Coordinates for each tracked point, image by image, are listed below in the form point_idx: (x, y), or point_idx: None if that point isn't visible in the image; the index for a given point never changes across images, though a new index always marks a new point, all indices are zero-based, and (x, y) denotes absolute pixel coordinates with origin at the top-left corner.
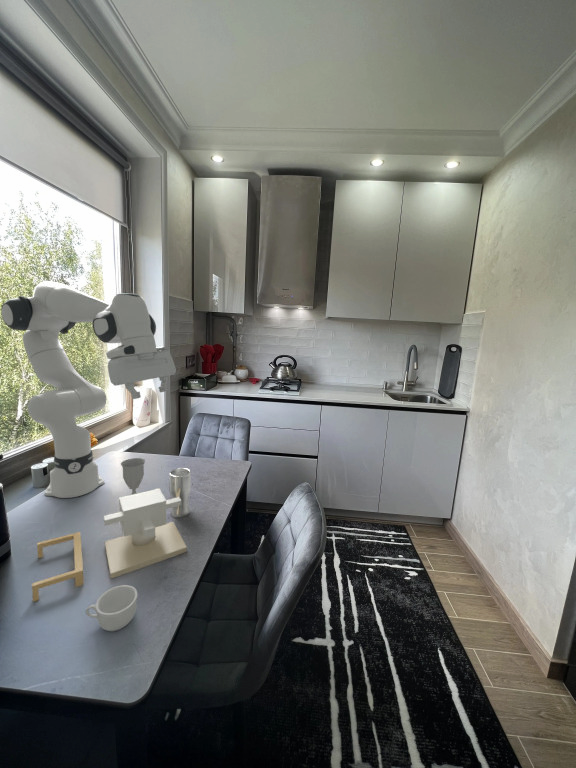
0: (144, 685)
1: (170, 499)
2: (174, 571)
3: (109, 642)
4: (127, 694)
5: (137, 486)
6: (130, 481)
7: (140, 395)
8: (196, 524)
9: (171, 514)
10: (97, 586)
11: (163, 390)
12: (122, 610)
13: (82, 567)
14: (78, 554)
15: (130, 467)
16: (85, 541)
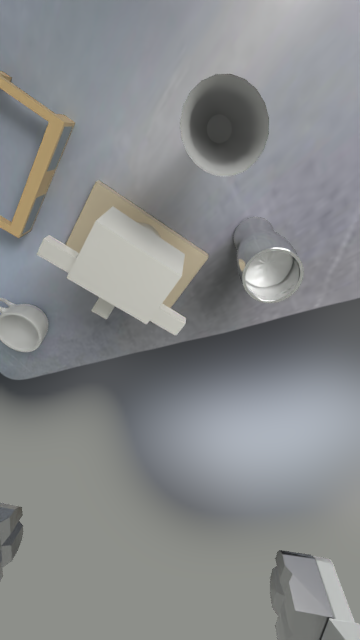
0: (15, 378)
1: (167, 315)
2: (121, 325)
3: None
4: (3, 372)
5: (217, 147)
6: (194, 144)
7: (11, 559)
8: (229, 290)
9: (236, 228)
10: None
11: (273, 601)
12: (14, 349)
13: (20, 231)
14: (29, 194)
15: (189, 153)
16: (85, 123)
